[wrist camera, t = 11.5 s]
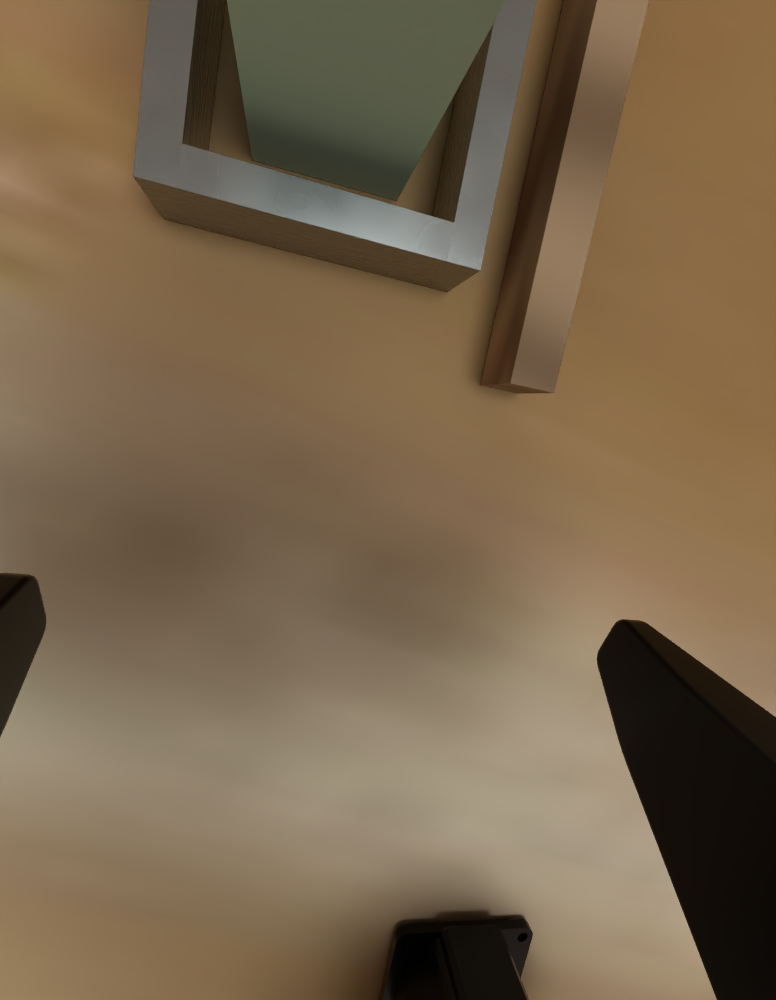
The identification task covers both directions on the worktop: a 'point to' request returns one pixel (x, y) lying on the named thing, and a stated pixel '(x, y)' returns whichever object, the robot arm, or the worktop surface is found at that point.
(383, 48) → the bar
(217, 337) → the worktop surface
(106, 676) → the worktop surface
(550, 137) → the brown wooden bar
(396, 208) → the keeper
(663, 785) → the robot arm
